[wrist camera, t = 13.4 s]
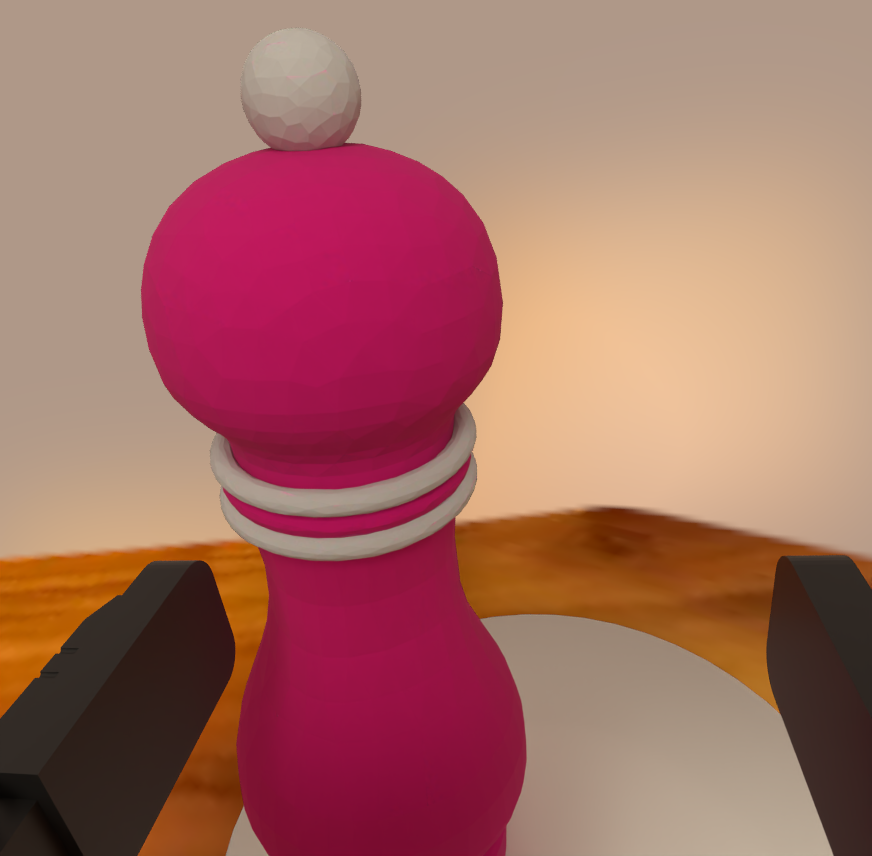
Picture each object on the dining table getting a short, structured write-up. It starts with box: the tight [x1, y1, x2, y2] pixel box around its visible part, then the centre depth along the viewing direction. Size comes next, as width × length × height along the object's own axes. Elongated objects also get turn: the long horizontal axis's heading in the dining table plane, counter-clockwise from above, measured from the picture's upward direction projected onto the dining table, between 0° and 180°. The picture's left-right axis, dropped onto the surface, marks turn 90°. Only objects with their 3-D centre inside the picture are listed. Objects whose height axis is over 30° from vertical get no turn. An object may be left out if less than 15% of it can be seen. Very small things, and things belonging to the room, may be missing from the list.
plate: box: [226, 614, 834, 856], centre depth 20 cm, size 18×18×2 cm
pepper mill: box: [141, 28, 527, 856], centre depth 15 cm, size 7×7×20 cm
